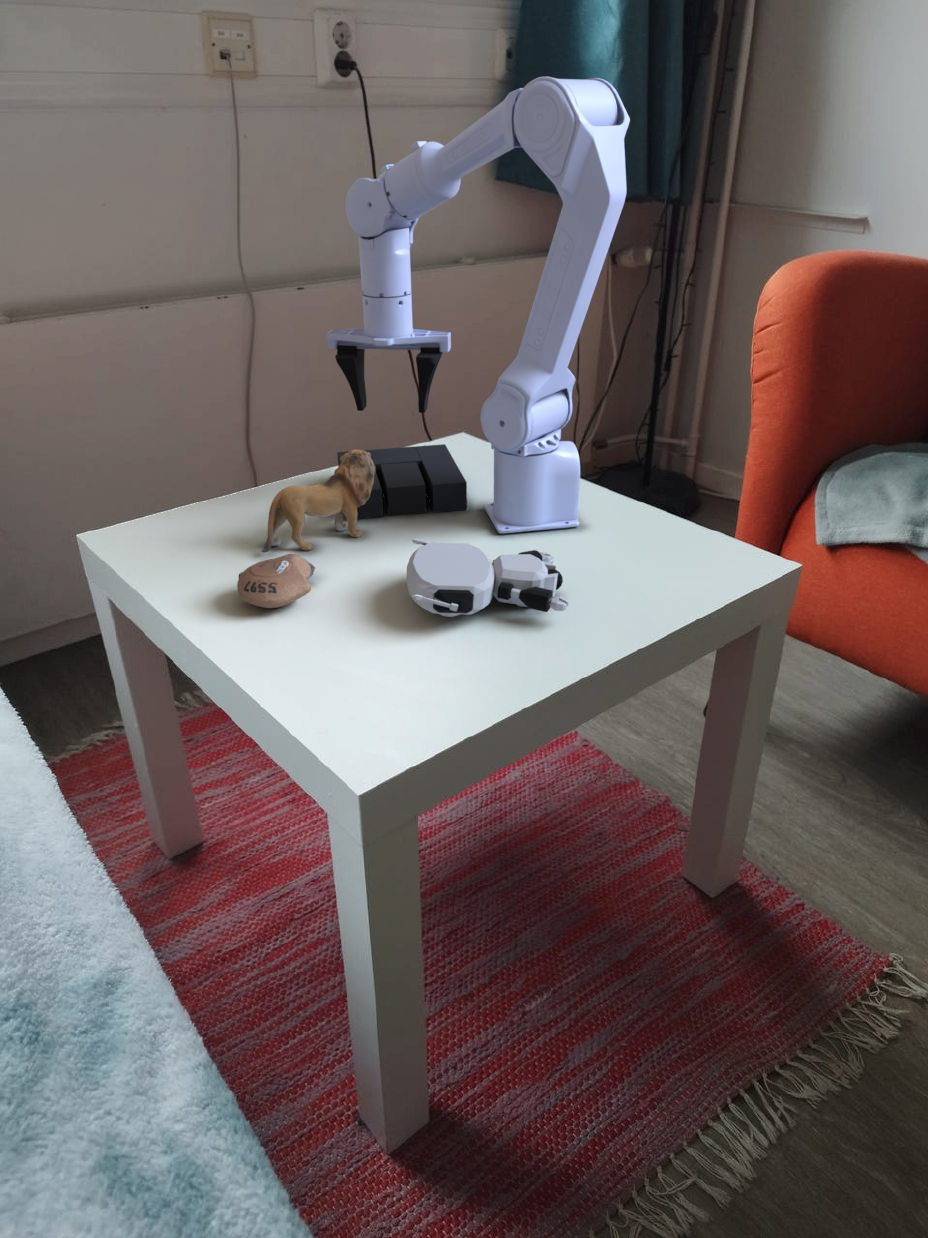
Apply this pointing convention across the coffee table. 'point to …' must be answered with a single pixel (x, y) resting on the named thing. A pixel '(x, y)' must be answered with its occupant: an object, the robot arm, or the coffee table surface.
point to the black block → (403, 488)
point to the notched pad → (436, 470)
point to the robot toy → (480, 579)
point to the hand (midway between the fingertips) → (392, 409)
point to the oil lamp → (275, 581)
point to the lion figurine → (324, 499)
